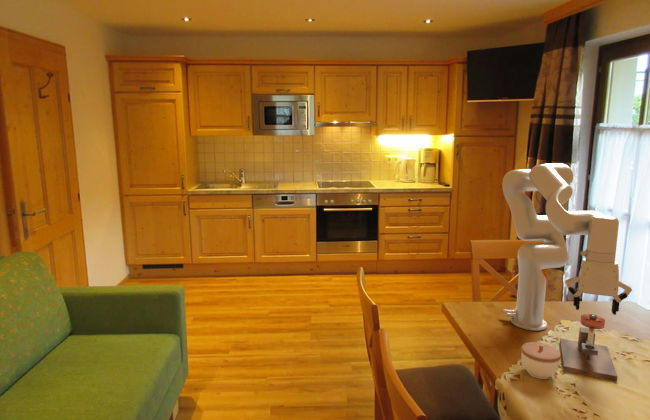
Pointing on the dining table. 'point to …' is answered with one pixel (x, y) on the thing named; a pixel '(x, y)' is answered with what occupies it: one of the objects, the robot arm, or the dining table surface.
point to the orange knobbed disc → (591, 328)
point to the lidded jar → (540, 359)
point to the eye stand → (577, 360)
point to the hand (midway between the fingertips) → (595, 310)
